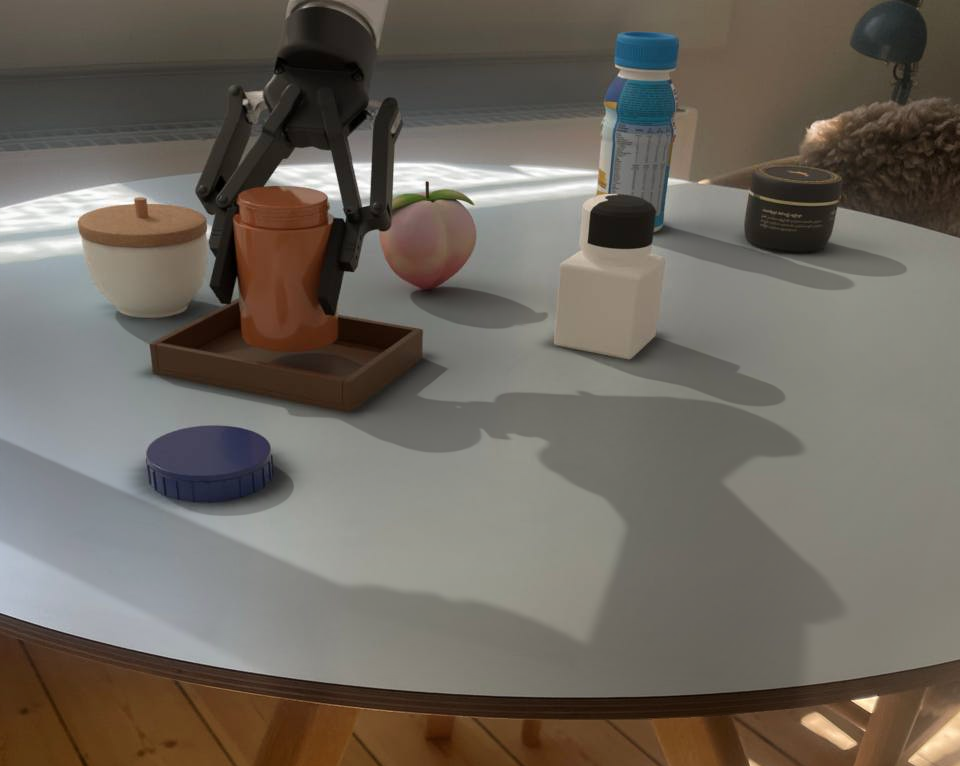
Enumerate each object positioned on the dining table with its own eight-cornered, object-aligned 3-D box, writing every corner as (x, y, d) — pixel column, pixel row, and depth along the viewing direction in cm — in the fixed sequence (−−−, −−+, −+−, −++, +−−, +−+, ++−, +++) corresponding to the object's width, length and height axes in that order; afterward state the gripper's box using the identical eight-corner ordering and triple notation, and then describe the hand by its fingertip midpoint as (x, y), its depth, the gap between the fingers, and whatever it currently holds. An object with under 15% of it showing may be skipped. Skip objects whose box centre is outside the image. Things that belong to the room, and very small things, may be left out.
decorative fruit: (439, 272, 117) (441, 167, 111) (487, 293, 111) (493, 184, 106) (359, 285, 112) (357, 176, 106) (406, 308, 107) (407, 195, 101)
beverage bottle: (630, 240, 130) (652, 41, 119) (576, 224, 135) (592, 31, 124) (678, 229, 135) (704, 37, 124) (624, 214, 140) (644, 28, 129)
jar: (753, 228, 137) (764, 159, 133) (838, 241, 134) (852, 171, 129) (730, 247, 130) (741, 175, 125) (819, 261, 126) (834, 187, 122)
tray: (152, 374, 90) (148, 343, 89) (241, 325, 101) (239, 297, 99) (350, 414, 85) (349, 381, 84) (422, 358, 96) (423, 329, 94)
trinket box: (153, 335, 98) (139, 220, 92) (64, 310, 102) (46, 199, 97) (238, 305, 105) (230, 197, 100) (152, 282, 110) (140, 178, 105)
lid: (292, 487, 75) (291, 461, 74) (173, 514, 71) (170, 486, 70) (245, 442, 80) (243, 416, 79) (132, 464, 77) (128, 438, 76)
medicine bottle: (656, 337, 103) (674, 196, 96) (630, 361, 97) (648, 213, 91) (581, 323, 105) (594, 184, 98) (552, 346, 100) (563, 201, 93)
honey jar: (223, 342, 90) (210, 199, 84) (272, 314, 96) (264, 179, 90) (310, 358, 88) (303, 213, 82) (355, 328, 94) (352, 191, 88)
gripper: (464, 78, 93) (413, 338, 89) (224, 60, 96) (163, 311, 92) (452, 9, 86) (395, 289, 82) (192, -8, 89) (124, 261, 85)
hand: (272, 300), depth 87 cm, fingers closed on honey jar, 8 cm apart
